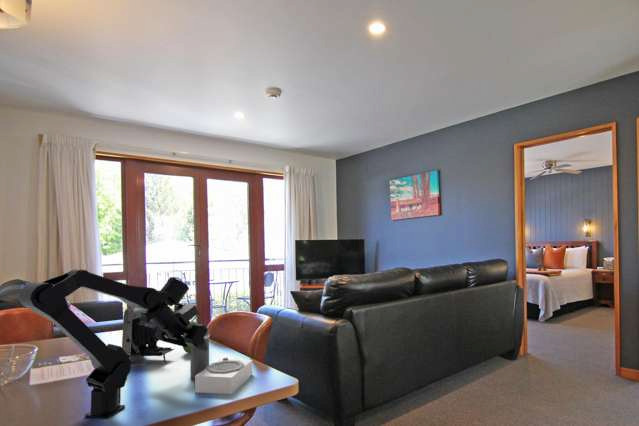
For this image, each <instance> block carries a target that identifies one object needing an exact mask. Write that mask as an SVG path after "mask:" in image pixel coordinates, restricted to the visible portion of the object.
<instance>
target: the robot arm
mask: <svg viewBox="0 0 639 426" xmlns="http://www.w3.org/2000/svg"><path fill="white" fill-rule="evenodd" d="M80 288H82V289H86V290H89V291H93V292H97V293H100V294H103V295H106V296H110V297H114V298H117V299H118V300H121V301H122V302H123V303H125V304H126V305H128V306H129V307H131V308H133V307H135V308H143V309H147V310H146V311H145V312H142V313H141V318H140V321H141V322H145V323H149V322H150V321H151V322H153V323H155V324H156V325H157V326H158V327H157V330H156V332H155V337H156V338H157V339H158V340H159V341H160V342H164V343H168V344H172V345H176V346H180V347H182V348H183V347H187V346H188V345H189V347H193V348H196V349H200V350H203V351H206V350H207V349H208V347H207V345H206V342H205V339H204V336H205V334H206V333H207V331H208V330H209V328H208V327H207V325H205V324H201V323H197V324H194V325H193V326H192V328H189V327H187V326H188V325H189V324H190V323H191V322H192V321H190V320H192V319H193V318H195V317H196V316H198V315H199V313H200V312H199V310H198V308H197V304H195V303H191V302H190V303H188V302H187V303H181V301H182V300H183V298H184V296H185V295H186V294H187V293H188V291H189V290H190V288H189V286H188V284H186V283H184V282H183V281H181V280H179V279H177V278H176V277H175V276H170V277H169V278H168V279H167V281H166V283H165V284H164V285H163V287H162V288H161V289H160V290H158V289H156V288H154V287H148V286H138V285H130V284H127V283H123V282H121V281H117V280H114V279H111V278H108V277H105V276H102V275H99V274H95V273H92V272H90V271H88V270H86V269H81V268H80V269H79V268H77V269H76V268H75V269H71V270H69V271H67V272H65V273H63V274H61V275H58V276H54V277H51V278H49V279H46V280H44V281H42V282H39V281H38V282H37V281H35V282H30V283H28V284H26V285H25V286H24V287H22V288H21V290H20V292H19V297H18V300H19V302H20V303H21V305H22V306H23V307H25V308H27V309H28V310H30V311H31V312H33V313H35V314H37V315H39V316H41V317H43V318H44V319H47V320H48V321H50V322H51V323H52V324H53V325H54V326H56V328H58V329H59V330H60V331H61V332H62V333H63V334H64V335H65V336H66V337H67V338H69V340H70V341H72V342H73V343H74V344H75V345H76V346H77V347H78V348H79V349H80V350H81V351H82V352H83V353H85V354H86V356H88V357H89V359H90V362H91V366H92V367H93V370H92V371H91V372H90V373H89V375H88V376H87V378H86V379H85V382H86V384H87V386H88V387H90V388H92V390H91V391H90V411H88V412H87V413H85V414H84V417H85V418H95V419H96V418H98V419H109V418H110V417H112V416H113V415H115V414H117V413H118V412H120V411H121V410H123V409H125V408H126V405H124V404H121V394H122V392H121V391H122V390H121V389H122V388H124V387H125V385H126V382H127V379H128V377H129V374H130V372H131V371H132V370H131V369H132V365H133V362H132V361H131V360H130V359H129V357H131V355H128V354H126V353H125V351H124V350H123V348H122V345H121V346H120V345H116V344H111V343H108V344H107V343H105V342H104V341H103V340H102V339H101V338H100V337H99V336H98V335H97V334H95V331H93V330H92V329H91V328H89V326H88V325H86V323H84V322H83V320H82V319H80V318H79V316H77V315H76V314H75V312H73V311H72V309H70V307H69V303H68V300H67V299H66V298H67V297H68V296H70V295H72V294H73V293H74V292H75V291H77V290H78V289H80ZM173 306H174V307H173ZM171 307H173V309H172V308H171ZM183 335H185V339H184V338H183Z"/></svg>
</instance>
